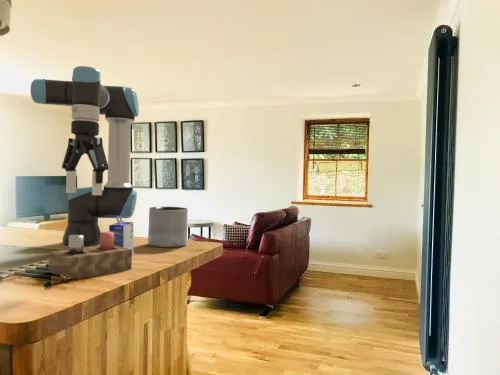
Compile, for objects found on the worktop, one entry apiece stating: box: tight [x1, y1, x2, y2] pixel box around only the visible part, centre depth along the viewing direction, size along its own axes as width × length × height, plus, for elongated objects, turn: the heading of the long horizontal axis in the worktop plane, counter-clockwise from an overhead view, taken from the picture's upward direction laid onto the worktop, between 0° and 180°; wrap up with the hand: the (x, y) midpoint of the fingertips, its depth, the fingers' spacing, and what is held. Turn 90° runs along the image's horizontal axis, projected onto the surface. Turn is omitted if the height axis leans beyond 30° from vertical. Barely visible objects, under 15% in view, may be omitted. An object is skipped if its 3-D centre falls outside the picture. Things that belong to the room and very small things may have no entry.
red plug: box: [99, 231, 114, 251], centre depth 126 cm, size 4×4×6 cm
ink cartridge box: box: [108, 216, 134, 257], centre depth 142 cm, size 10×6×14 cm, turn 176°
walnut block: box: [48, 245, 133, 280], centre depth 123 cm, size 20×12×6 cm, turn 141°
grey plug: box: [67, 235, 85, 255], centre depth 119 cm, size 4×4×6 cm
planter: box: [147, 206, 188, 249], centre depth 171 cm, size 16×16×16 cm
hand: (83, 194), depth 119 cm, fingers open, 13 cm apart
